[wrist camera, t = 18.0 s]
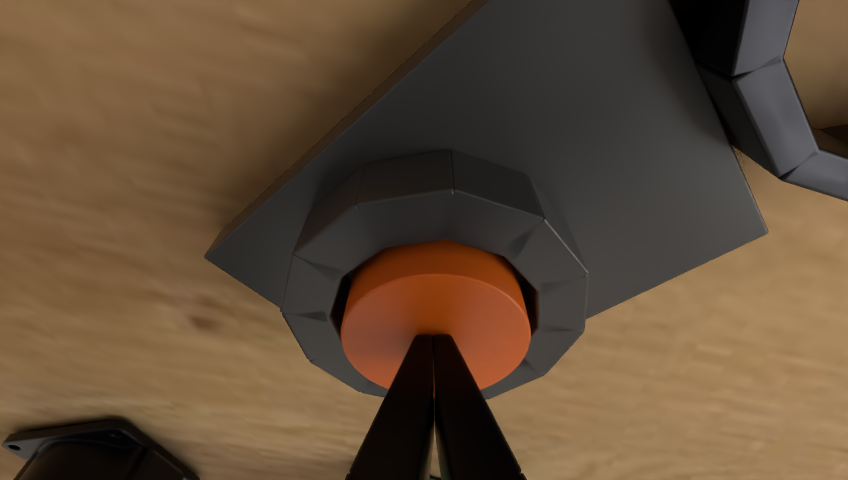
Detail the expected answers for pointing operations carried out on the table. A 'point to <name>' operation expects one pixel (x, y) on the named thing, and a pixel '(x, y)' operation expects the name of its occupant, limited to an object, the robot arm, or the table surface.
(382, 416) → the robot arm
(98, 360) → the table surface
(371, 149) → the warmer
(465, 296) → the button
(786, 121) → the ring
